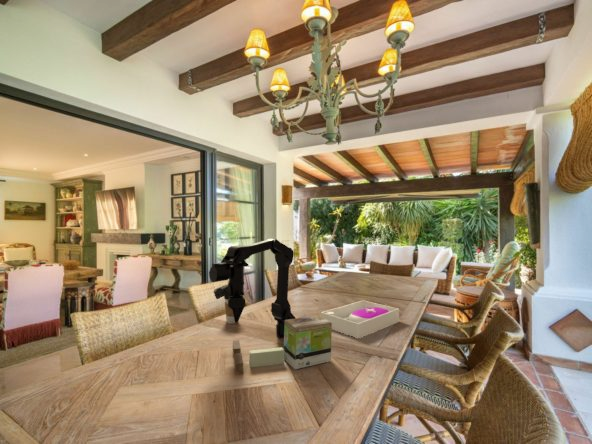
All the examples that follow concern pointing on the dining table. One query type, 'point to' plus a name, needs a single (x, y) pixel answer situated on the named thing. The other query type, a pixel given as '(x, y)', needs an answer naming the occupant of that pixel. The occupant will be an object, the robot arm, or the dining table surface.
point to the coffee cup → (229, 312)
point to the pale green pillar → (266, 357)
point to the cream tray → (361, 318)
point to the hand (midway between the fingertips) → (236, 318)
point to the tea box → (307, 341)
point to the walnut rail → (237, 357)
